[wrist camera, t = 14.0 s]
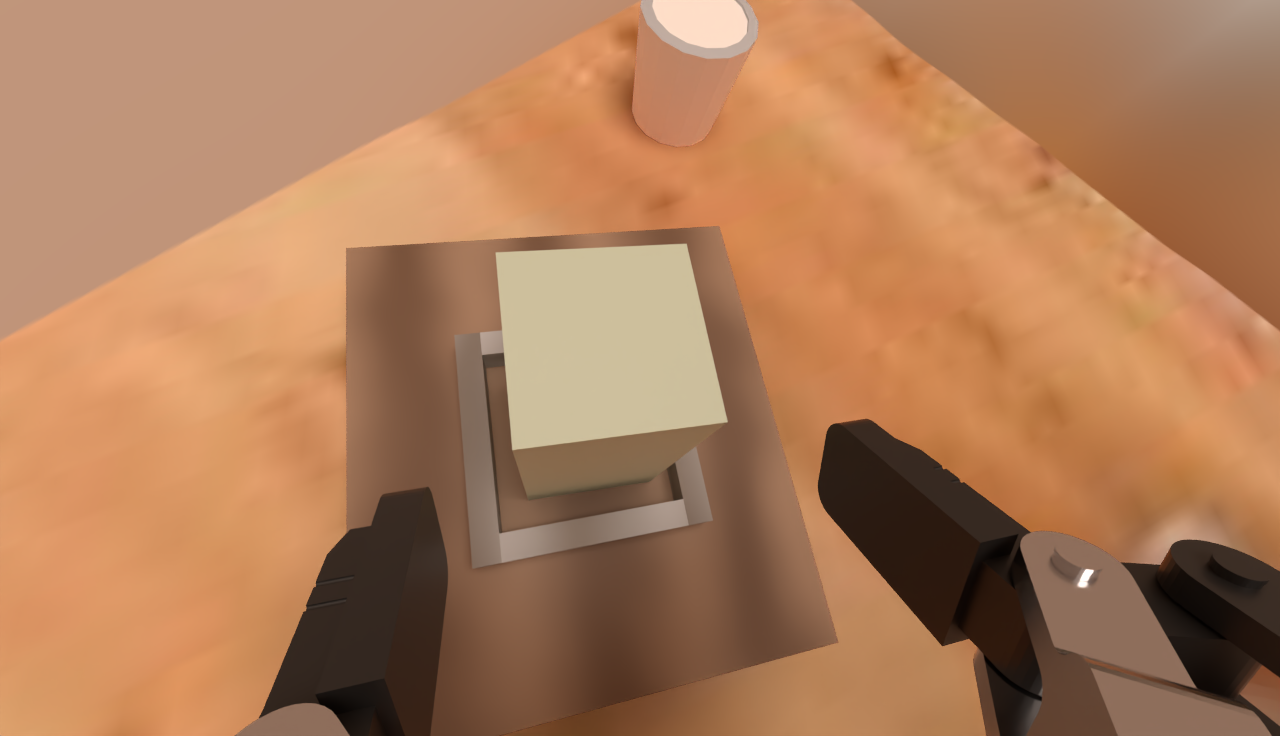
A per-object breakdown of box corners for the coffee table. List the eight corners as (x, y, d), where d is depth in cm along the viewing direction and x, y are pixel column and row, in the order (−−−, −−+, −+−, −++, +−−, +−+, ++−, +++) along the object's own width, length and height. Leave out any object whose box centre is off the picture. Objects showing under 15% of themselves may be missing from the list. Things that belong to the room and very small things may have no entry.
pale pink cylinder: (608, 129, 33) (623, 24, 26) (641, 64, 36) (662, -46, 29) (705, 169, 33) (743, 74, 27) (731, 100, 36) (771, 0, 29)
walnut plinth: (698, 266, 30) (728, 207, 25) (793, 629, 24) (859, 648, 19) (374, 291, 26) (333, 227, 21) (384, 737, 20) (328, 798, 15)
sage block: (630, 371, 23) (686, 243, 14) (649, 481, 21) (727, 422, 12) (517, 382, 22) (495, 252, 12) (528, 500, 20) (512, 449, 11)
